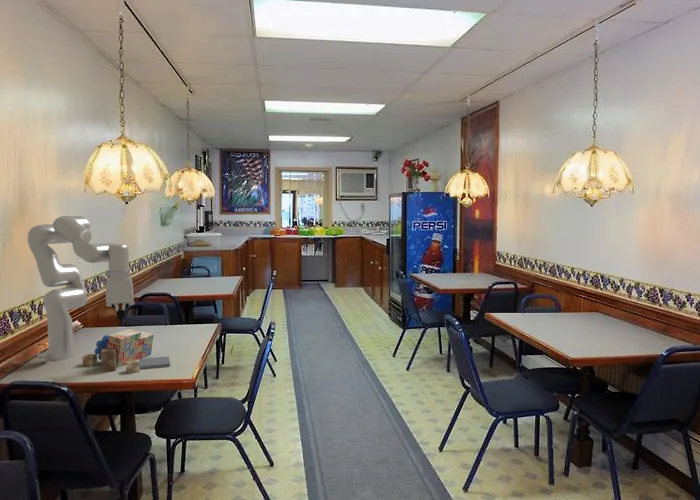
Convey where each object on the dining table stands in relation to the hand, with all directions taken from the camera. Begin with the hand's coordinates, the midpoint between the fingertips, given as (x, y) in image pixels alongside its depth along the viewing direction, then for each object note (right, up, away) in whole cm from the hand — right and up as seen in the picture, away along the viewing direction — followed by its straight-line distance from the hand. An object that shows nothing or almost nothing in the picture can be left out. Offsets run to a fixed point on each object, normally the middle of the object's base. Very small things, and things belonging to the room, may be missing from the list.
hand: (120, 319), depth 220 cm
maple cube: (+7, -20, -4) cm, 22 cm away
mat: (+11, -19, +6) cm, 23 cm away
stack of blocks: (-2, -18, +12) cm, 22 cm away
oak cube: (-15, -19, +5) cm, 25 cm away
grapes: (-10, -19, +10) cm, 23 cm away
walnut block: (-4, -20, -2) cm, 20 cm away
